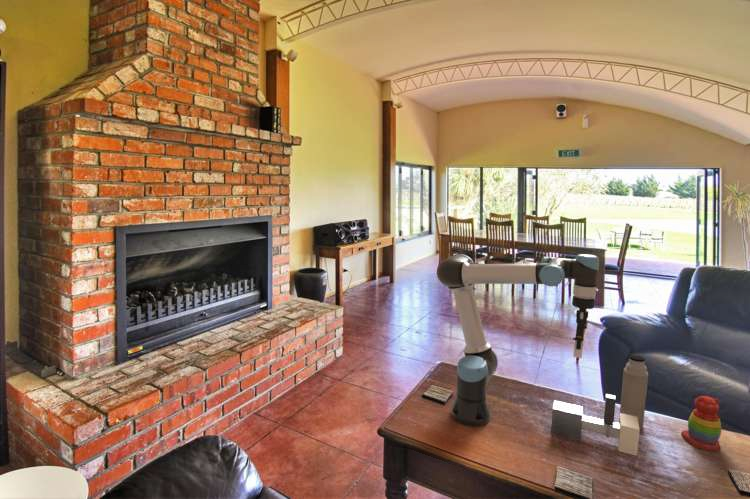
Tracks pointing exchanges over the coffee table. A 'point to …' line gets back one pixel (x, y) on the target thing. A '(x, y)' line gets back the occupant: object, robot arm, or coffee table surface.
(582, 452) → the coffee table surface
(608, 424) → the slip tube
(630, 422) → the socket block
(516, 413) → the coffee table surface
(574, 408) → the grey block
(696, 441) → the stacking bear
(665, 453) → the coffee table surface
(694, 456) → the coffee table surface
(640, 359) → the thermos bottle
